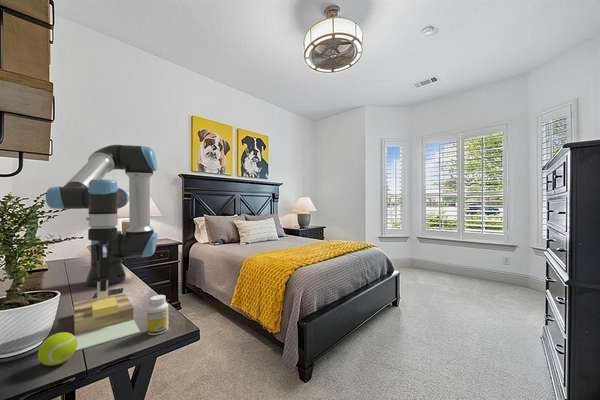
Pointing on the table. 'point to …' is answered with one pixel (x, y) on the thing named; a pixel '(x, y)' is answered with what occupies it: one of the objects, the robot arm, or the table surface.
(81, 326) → the deck
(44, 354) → the tennis ball
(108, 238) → the robot arm
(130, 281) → the table surface
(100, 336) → the mat
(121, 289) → the chocolate bar
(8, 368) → the table surface
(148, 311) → the supplement bottle
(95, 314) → the yellow sticky note pad
